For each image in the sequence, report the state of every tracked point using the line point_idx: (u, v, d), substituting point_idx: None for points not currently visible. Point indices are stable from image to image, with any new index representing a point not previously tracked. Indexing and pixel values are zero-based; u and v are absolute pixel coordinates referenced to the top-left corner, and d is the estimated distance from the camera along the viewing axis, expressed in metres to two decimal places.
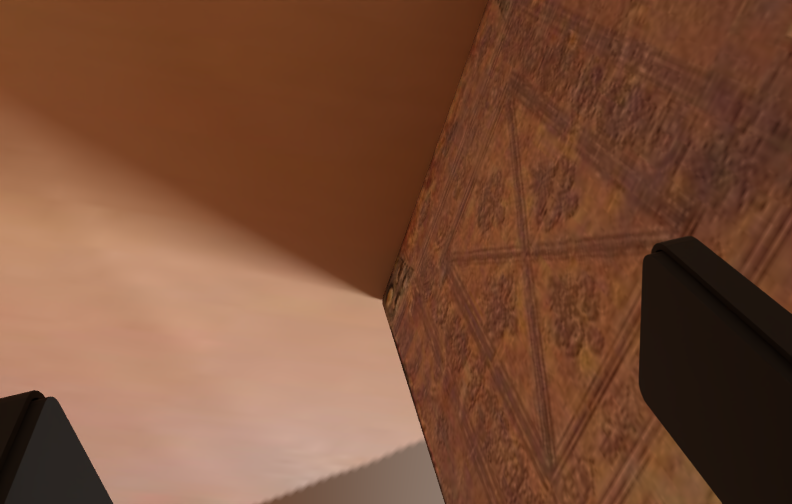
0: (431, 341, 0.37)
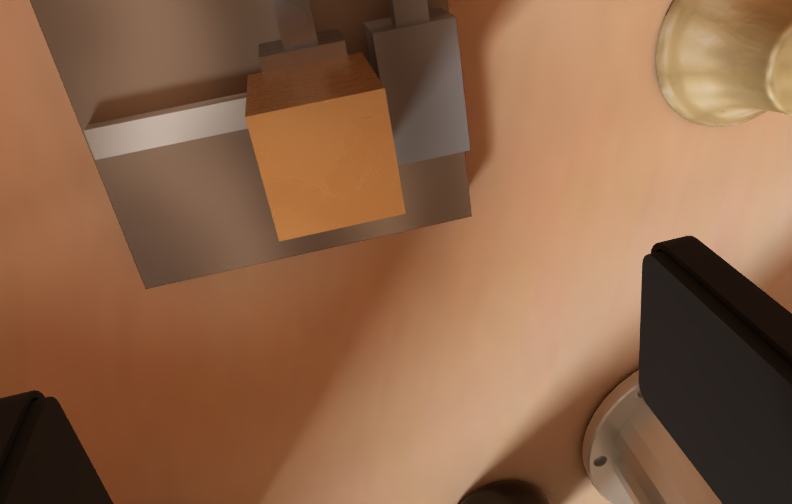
0: None
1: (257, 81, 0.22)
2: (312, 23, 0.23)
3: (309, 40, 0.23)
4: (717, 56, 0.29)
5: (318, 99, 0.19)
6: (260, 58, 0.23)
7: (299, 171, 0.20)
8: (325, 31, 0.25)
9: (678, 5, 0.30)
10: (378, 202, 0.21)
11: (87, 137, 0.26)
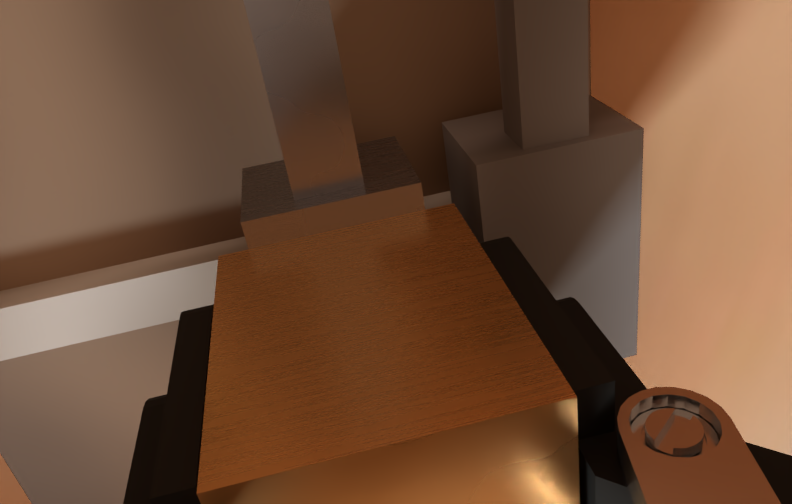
0: None
1: (237, 289, 0.10)
2: (353, 147, 0.11)
3: (346, 180, 0.11)
4: None
5: (397, 426, 0.07)
6: (244, 224, 0.11)
7: None
8: (371, 143, 0.13)
9: None
10: None
11: None
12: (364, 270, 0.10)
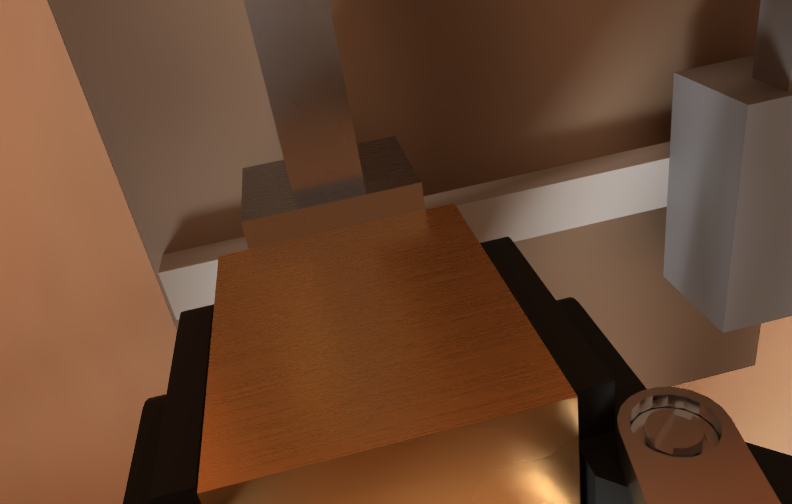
0: None
1: (237, 288, 0.10)
2: (353, 147, 0.11)
3: (346, 180, 0.11)
4: None
5: (398, 426, 0.07)
6: (244, 224, 0.11)
7: None
8: (371, 142, 0.13)
9: None
10: None
11: (165, 283, 0.14)
12: (364, 270, 0.10)
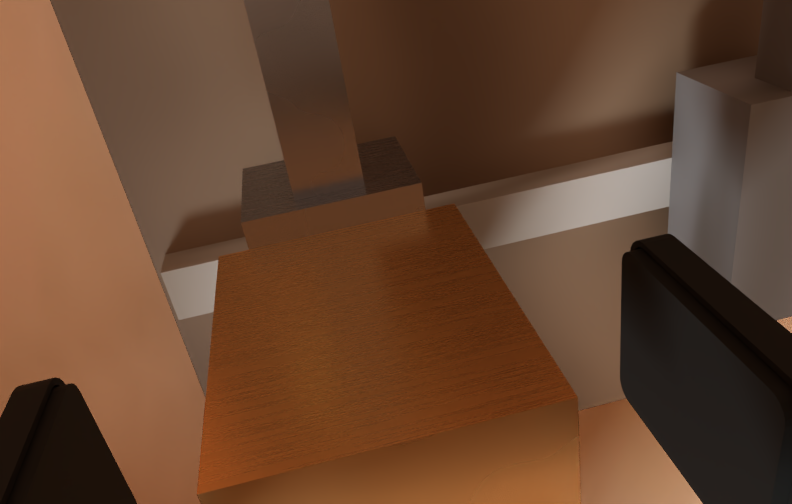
0: None
1: (238, 289, 0.10)
2: (354, 148, 0.11)
3: (347, 181, 0.11)
4: None
5: (398, 427, 0.07)
6: (245, 224, 0.11)
7: None
8: (371, 143, 0.13)
9: None
10: None
11: (167, 283, 0.14)
12: (365, 270, 0.10)
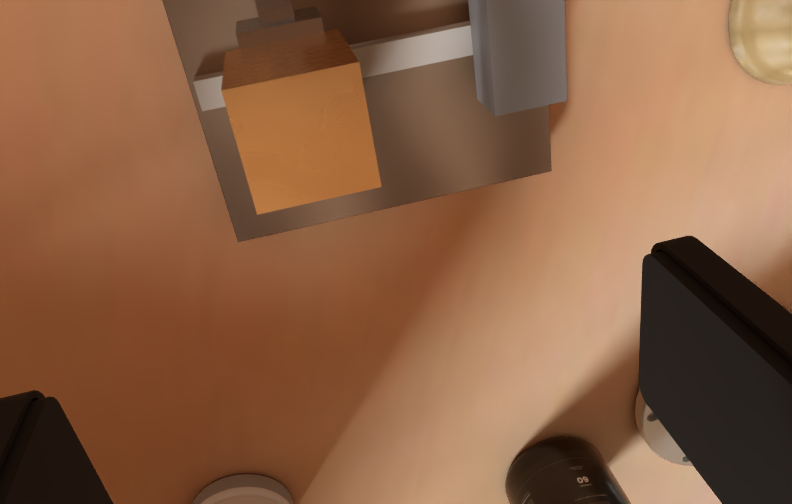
0: None
1: (234, 57, 0.22)
2: (289, 0, 0.23)
3: (286, 17, 0.24)
4: None
5: (293, 73, 0.19)
6: (237, 34, 0.23)
7: (275, 144, 0.20)
8: (302, 8, 0.25)
9: None
10: (354, 175, 0.21)
11: (196, 88, 0.26)
12: (291, 48, 0.22)
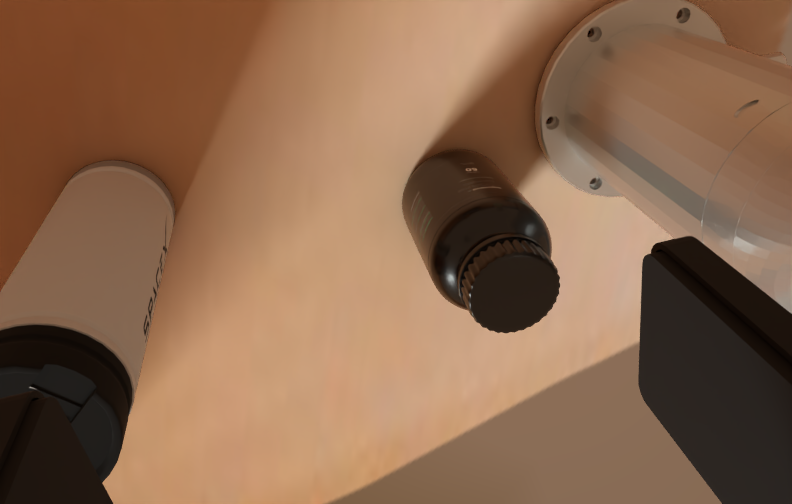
0: None
1: None
2: None
3: None
4: None
5: None
6: None
7: None
8: None
9: None
10: None
11: None
12: None
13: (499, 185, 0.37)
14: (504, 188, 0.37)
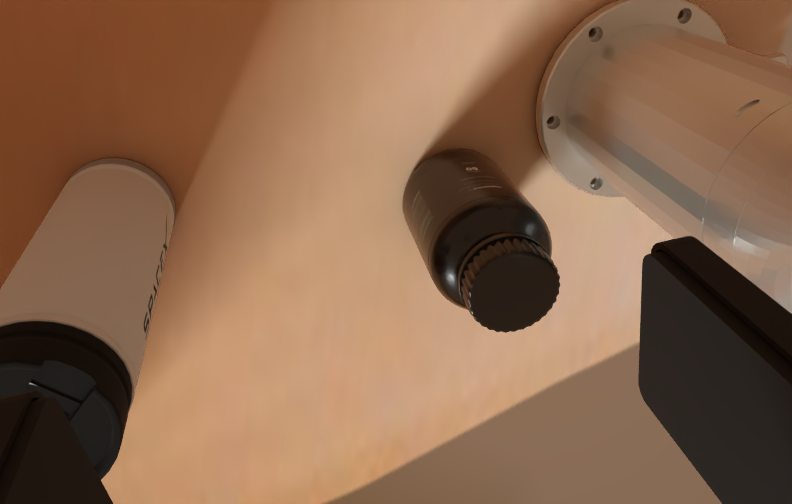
0: None
1: None
2: None
3: None
4: None
5: None
6: None
7: None
8: None
9: None
10: None
11: None
12: None
13: (499, 185, 0.37)
14: (504, 187, 0.37)
